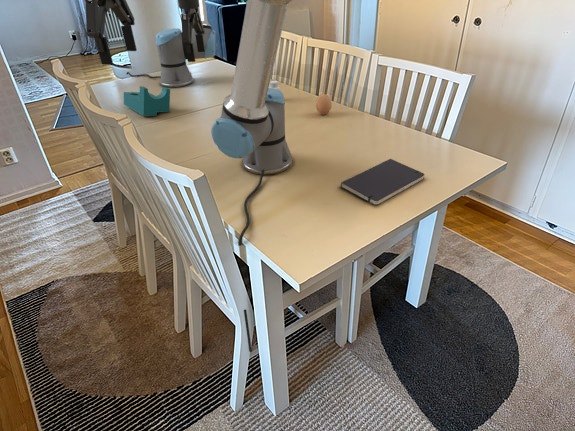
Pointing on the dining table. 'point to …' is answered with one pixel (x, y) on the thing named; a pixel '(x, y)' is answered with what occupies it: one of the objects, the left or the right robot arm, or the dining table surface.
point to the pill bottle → (274, 85)
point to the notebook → (382, 181)
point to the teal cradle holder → (148, 101)
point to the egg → (323, 104)
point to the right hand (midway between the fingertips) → (120, 57)
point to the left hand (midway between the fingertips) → (196, 56)
